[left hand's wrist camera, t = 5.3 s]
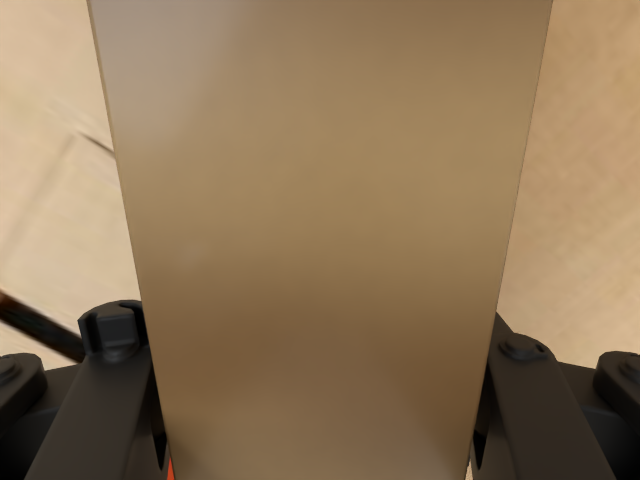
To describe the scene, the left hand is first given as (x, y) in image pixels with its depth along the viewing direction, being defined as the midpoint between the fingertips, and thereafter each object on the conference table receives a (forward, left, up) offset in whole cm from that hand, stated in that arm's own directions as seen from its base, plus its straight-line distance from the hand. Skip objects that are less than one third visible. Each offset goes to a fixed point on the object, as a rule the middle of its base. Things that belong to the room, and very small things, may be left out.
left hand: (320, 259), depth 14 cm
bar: (+2, +7, -1) cm, 7 cm away
